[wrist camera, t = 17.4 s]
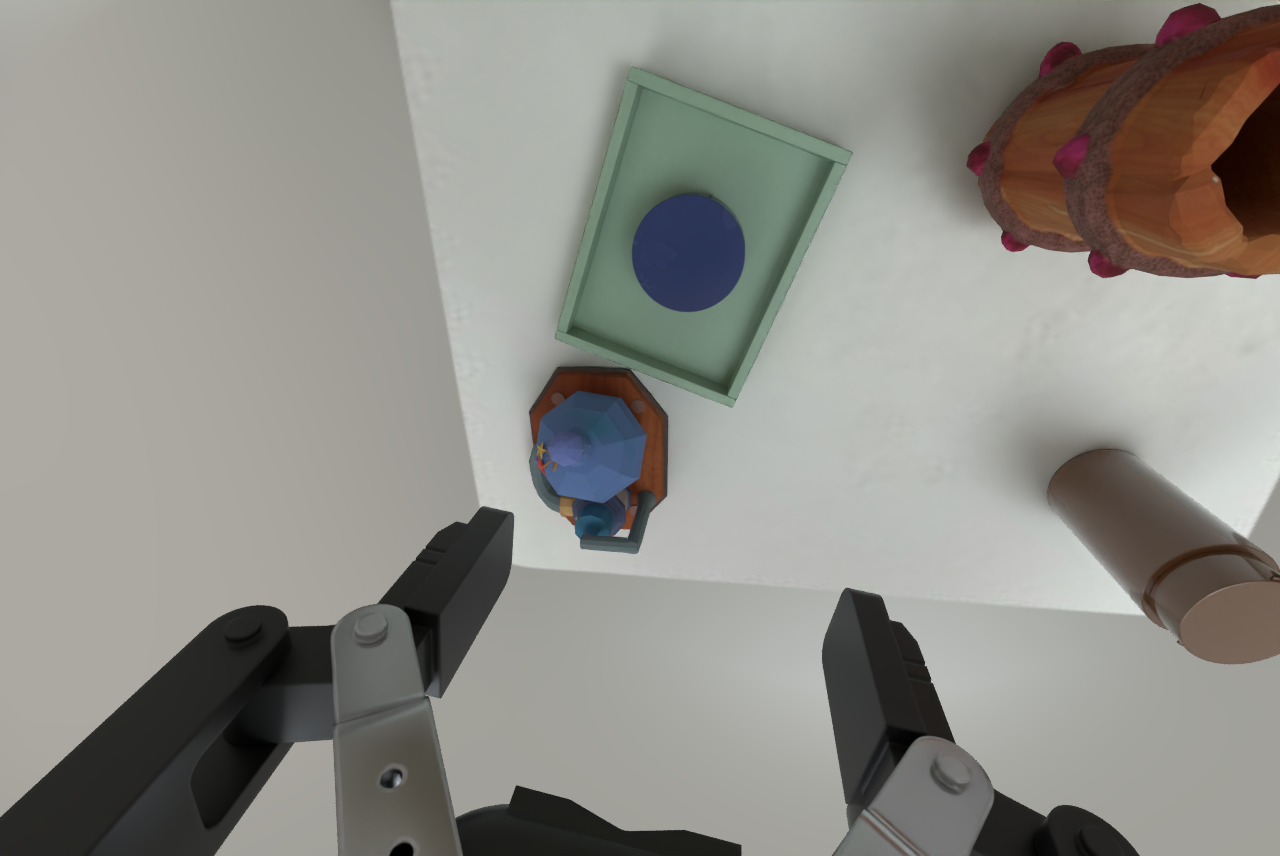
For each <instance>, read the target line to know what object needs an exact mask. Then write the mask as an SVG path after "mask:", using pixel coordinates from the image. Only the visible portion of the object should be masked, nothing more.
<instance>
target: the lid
mask: <svg viewBox="0 0 1280 856" xmlns="http://www.w3.org/2000/svg"><path fill="white" fill-rule="evenodd" d="M632 263H633V268H634V272H635V275H636V277H637V280H638V282H639V283H640V285H641V287H642V288H643V290H644V291H645V292H646V293H647V294H648V295H649V297H650V298H652V299H653V300H654V301H655V302H657V303H658V304H660V305H662V306H664V307H666V308H668V309H671V310H674V311H679V312H697V311H701V310H705V309H708V308H710V307H712V306H714V305H716V304H718V303H719V302H721V301H722V300H723V299H724V298H726V297H727V296H728V295H729V294H730V292H731V291H732V290H733V289H734V287H735V286H736V284H737V283H738V281H739V279H740V277H741V274H742V271H743V268H744V263H745V238H744V233H743V229H742V226H741V224H740V222H739V220H738V218H737V217H736V215H735V213H734V212H733V211H732V210H731V209H730V208H729V207H728V206H727V205H726V204H725V203H724V202H722V201H721V200H719V199H717V198H715V197H713V194H710V195H708V194H704V193H698V192H689V193H682V194H678V195H675V196H673V197H670V198H668V199H666V200H664V201H662V202H661V203H659V204H657V205H656V206H655V207H654V208H652V209H651V210H650V211H649V212H648V213H647V214H646V216H645V217H644V218H643V220H642V221H641V223H640V225H639V226H638V228H637V231H636V233H635V236H634V240H633V246H632Z"/></svg>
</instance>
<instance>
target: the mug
mask: <svg viewBox="0 0 1280 856" xmlns="http://www.w3.org/2000/svg"><path fill="white" fill-rule="evenodd" d="M967 167H968V168H969V169H970V170H971V171H972V172H974V173H975V174H976V175H979V181H978V185H979V188H980V190H981V193H982V197H983V201H984V204H985V206H986V208H987V210H988V211H989V213H990V215H991V217H992V218H993V219H994V220H995V221H996V222H997V224H998V225H999V226H1000V227H1001V228H1002V230H1003V233H1002V236H1001V240H1002V244H1003V245H1004V247H1005V248H1006V249H1007V250H1009V251H1011V252H1016V251H1022V250H1024V249H1025V248H1027V247H1028V246H1029V245H1034V246H1037V247H1040V248H1044V249H1047V250H1053V251H1062V252H1084V251H1091V252H1090V254H1089V257H1088V263H1089V266H1090V269H1091V271H1092V272H1093V273H1094V274H1096V275H1098V276H1100V277H1102V278H1108V277H1114V276H1118V275H1121V274H1123V273H1125V272H1126V271H1128V270H1129V269H1135V270H1139V271H1143V272H1147V273H1151V274H1155V275H1159V276H1170V277H1182V278H1193V277H1208V276H1217V275H1222V274H1226V275H1228V276H1230V277H1240V278H1253V279H1256V278H1258V277H1259V276H1261V275H1265V274H1280V5H1274V6H1266V7H1260V8H1257V9H1253V10H1250V11H1246V12H1243V13H1239V14H1236V15H1232V16H1229V17H1225V18H1222V19H1221V17H1220V16H1219V15H1218V13H1217V12H1216V10H1215V9H1213V8H1211V7H1208V6H1206V5H1203V4H1201V3H1198V4H1194V5H1191V6H1187V7H1184V8H1182V9H1179V10H1177V11H1175V12H1173V13H1171V14H1170V16H1169V17H1168V19H1167V20H1166V22H1165V23H1164V25H1163V27H1162V28H1161V30H1160V31H1159V33H1158V34H1157V37H1156V42H1155V44H1134V45H1125V46H1115V47H1108V48H1104V49H1101V50H1097V51H1093V52H1089V53H1085V54H1082V52H1081V50H1080V49H1079V48H1078V47H1077V46H1076V45H1075V44H1073V43H1071V42H1061V43H1058V44H1057V45H1055V46H1054V47H1053V48H1052V49H1051V50H1050V51H1049V52H1048V53H1047V54H1046V56H1045V58H1044V60H1043V61H1042V63H1041V65H1040V71H1039V77H1038V79H1036V80H1035V81H1034V82H1033V83H1032V84H1031V85H1029V86H1028V87H1027V88H1026V89H1025V90H1024V91H1022V92H1021V93H1020V94H1019V95H1018V97H1017V98H1016V99H1015V100H1014V101H1013V102H1012V103H1011V105H1010V106H1009V107H1008V108H1007V109H1006V111H1005V112H1004V113H1003V114H1002V116H1001V117H1000V118H999V119H998V120H997V121H996V122H995V124H994V125H993V126H992V127H991V129H990V130H989V132H988V133H987V135H986V137H985V138H984V141H983V143H982V144H980V145H978V146H977V147H975V148H974V149H973V150H972V151H971V153H970V154H969V155H968V161H967Z"/></svg>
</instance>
